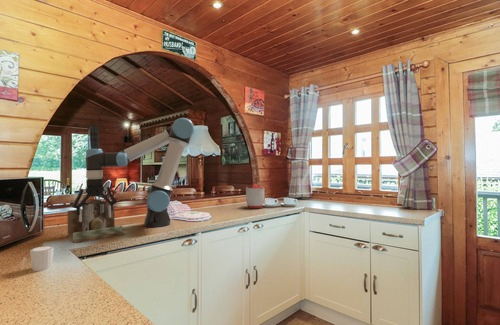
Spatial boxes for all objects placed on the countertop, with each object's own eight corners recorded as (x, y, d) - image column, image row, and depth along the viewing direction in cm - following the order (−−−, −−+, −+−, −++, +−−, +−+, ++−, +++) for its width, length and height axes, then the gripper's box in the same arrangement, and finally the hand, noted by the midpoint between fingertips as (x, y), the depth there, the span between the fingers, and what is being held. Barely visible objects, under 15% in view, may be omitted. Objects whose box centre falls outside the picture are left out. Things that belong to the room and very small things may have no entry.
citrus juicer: (254, 205, 240) (254, 182, 240) (268, 207, 227) (268, 183, 227) (240, 207, 230) (240, 183, 230) (254, 210, 217) (254, 184, 217)
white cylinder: (28, 268, 99) (28, 248, 99) (52, 263, 104) (52, 244, 104) (31, 273, 94) (31, 252, 94) (55, 268, 99) (55, 248, 99)
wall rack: (113, 228, 157) (113, 205, 157) (124, 234, 144) (123, 209, 144) (67, 236, 142) (67, 210, 142) (74, 243, 129) (74, 215, 129)
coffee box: (99, 230, 150) (99, 200, 150) (106, 231, 146) (106, 201, 146) (81, 234, 142) (81, 202, 142) (88, 235, 139) (88, 203, 139)
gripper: (117, 177, 156) (118, 214, 156) (64, 179, 139) (65, 222, 139) (122, 177, 150) (122, 216, 150) (67, 180, 133) (68, 224, 133)
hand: (95, 219), depth 144 cm, fingers open, 13 cm apart
